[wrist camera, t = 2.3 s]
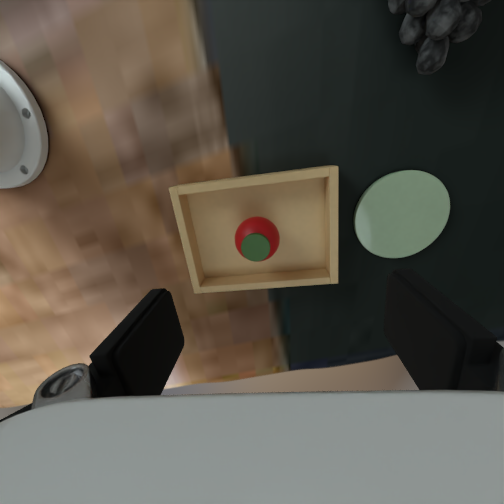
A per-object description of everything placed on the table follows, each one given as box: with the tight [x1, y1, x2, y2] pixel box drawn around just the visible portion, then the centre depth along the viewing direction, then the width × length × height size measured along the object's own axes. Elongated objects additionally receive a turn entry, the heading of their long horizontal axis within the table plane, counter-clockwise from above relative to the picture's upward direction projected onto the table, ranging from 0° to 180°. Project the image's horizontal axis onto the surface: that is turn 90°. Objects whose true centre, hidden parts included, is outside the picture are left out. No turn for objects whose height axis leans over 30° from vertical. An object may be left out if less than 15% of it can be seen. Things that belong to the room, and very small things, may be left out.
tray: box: [169, 165, 338, 294], centre depth 25 cm, size 16×12×3 cm
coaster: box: [353, 170, 450, 258], centre depth 24 cm, size 9×9×1 cm
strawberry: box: [235, 216, 280, 262], centre depth 23 cm, size 4×4×5 cm
